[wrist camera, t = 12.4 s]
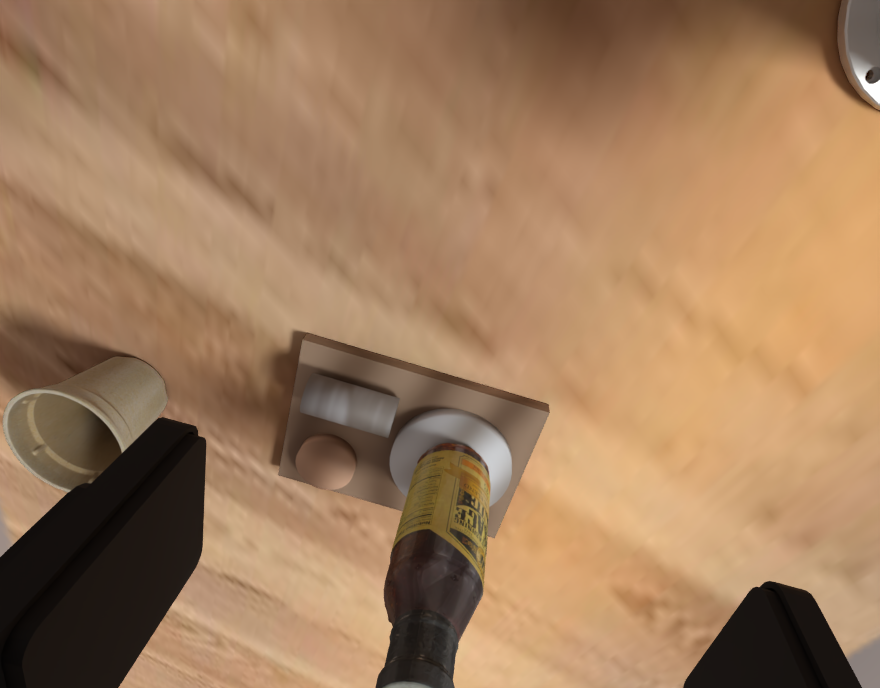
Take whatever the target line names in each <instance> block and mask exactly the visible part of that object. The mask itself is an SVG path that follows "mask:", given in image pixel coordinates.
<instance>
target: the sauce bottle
mask: <svg viewBox="0 0 880 688" xmlns="http://www.w3.org/2000/svg"><path fill="white" fill-rule="evenodd" d="M489 477H490V476H489V470H488V466H487V464H486V463H485V461H484V460H483V458H482V457H481V456H480V455H479V454H478V453H477V452H475V450H473V449H472V448H471V447H469V446H466V445H462V444H455V443H443V444H439V445H437V446H434V447H432V448H431V449H429V450H427V452H425V453H424V454H422V456H421V457H420V458H419V460H418V462H417V466H416V468H415V470H414V473H413V476H412V480H411V484H410V487H409V491H408V494H407V498H406V501H405V505H404V509H403V512H402V516H401V519H400V523H399V527H398V530H397V534H396V537H395V541H394V545H393V548H392V552H391V557H390V565H389V569H388V572H387V577H386V580H385V586H384V601H385V607H386V610H387V614H388V620H389V622H391V623H392V626H393V628H392V631H391V634H390V646H389V649H388V653H387V658H386V663H385V667H384V668H383V669H382V671H381V672H380V674H379V676H378V679H377V684H376V688H454V683H453V674H454V664H455V655H456V652H457V650H458V642H459V640H460V638H461V636H462V634H463V632H464V630H465V629H466V627H467V625H468V623H469V621H470V619H471V617H472V615H473V613H474V611H475V609H476V607H477V605H478V603H479V601H480V600H481V598H482V595H483V587H484V574H485V561H486V549H487V533H488V519H489V504H490V490H491V483H490V478H489Z"/></svg>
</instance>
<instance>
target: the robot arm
mask: <svg viewBox="0 0 880 688" xmlns="http://www.w3.org/2000/svg"><path fill="white" fill-rule="evenodd" d="M837 43H838V49H839V54H840V60H841V64H842V67H843V69H844V71H845V74H846V76H847V78H848V81H849V82H850V84H851V85H852V86H853V88H854V89H855V90H856V91H857V93H858V94H859V95H860V97H861V98H863V99H864V100H865V101H867V102H868V103H869V104H870V105H872V106H873V107H874V108H876V109H878V110H880V0H842V2H841V6H840V11H839V16H838V35H837ZM868 71H869V76H868V78H867V79H865V76H866V73H867V72H868ZM205 464H206V440H205V438H203V437H200V436H198V430H197V428H196V426H193V425H190V424H186V423H182V422H178V421H175V420H171V419H167V418H164V417H162V418H158V419H157V420H156V421H154V422H153V423H152V424H151V425H150V426H149V427H148V428H147V429H146V430H145V431H144V432H143V433H142V434H141V435H140V436H139V437H138V438H137V439H136V440H135V441H134V442H133V443H132V444H131V445H130V446H129V447H128V448H127V449H126V450H125V451H124V452H123V453H122V454H121V455H120V456H119V457H118V458H117V459H115V460H114V461H113V462H112V463H111V464H110V465H109V466H108V467H107V468H106V469H105V470H104V471H103V472H102V473H101V474H100V475H99V476H98V477H97V478H96V479H95V480H94V481H93V482H92V483H83V484H81V485H78V486H76V487H75V488H74V489H72V490H71V491H70V492H68V493H67V494H66V495H65V496H64V497H63V498H62V499H61V500H60V501H59V502H58V503H57V504H56V505H55V506H53V507H52V508H51V509H50V510H49V511H48V512H47V513H46V514H45V515H44V516H43V517H42V518H41V519H40V520H39V521H38V522H37V523H36V524H35V525H34V526H32V527H31V528H30V529H29V530H28V531H27V532H26V533H25V534H24V535H23V536H22V537H21V538H20V539H19V540H18V541H17V542H16V543H15V544H14V545H13V546H11V547H10V548H9V549H8V550H7V551H6V552H5V553H4V554H3V555H2V556H1V557H0V688H118V687H119V686H120V684H121V683H122V681H123V680H124V678H125V676H126V675H127V673H128V672H129V670H130V669H131V667H132V666H133V664H134V663H135V661H136V659H137V658H138V656H139V655H140V653H141V652H142V650H143V649H144V647H145V646H146V644H147V642H148V641H149V639H150V638H151V636H152V635H153V633H154V632H155V630H156V628H157V627H158V625H159V624H160V622H161V621H162V619H163V618H164V616H165V615H166V613H167V611H168V610H169V608H170V607H171V605H172V604H173V602H174V601H175V599H176V598H177V596H178V594H179V593H180V591H181V590H182V588H183V587H184V585H185V584H186V582H187V580H188V579H189V577H190V576H191V574H192V573H193V571H194V569H195V568H196V566H197V564H198V562H199V559H200V556H201V552H202V547H203V519H204V492H205ZM683 688H862V687H861V685H860V683H859V681H858V679H857V677H856V676H855V674H854V672H853V670H852V668H851V666H850V664H849V662H848V661H847V659H846V657H845V655H844V653H843V651H842V649H841V647H840V646H839V644H838V642H837V640H836V638H835V636H834V634H833V632H832V631H831V629H830V627H829V625H828V623H827V621H826V619H825V617H824V616H823V614H822V612H821V610H820V608H819V606H818V604H817V602H816V601H815V599H814V598H813V596H812V595H811V594H810V593H809V592H807V591H806V590H802V589H798V588H795V587H791V586H787V585H784V584H780V583H776V582H772V581H768V582H765V583H763V584H762V585H761V586H760V587H754V588H752V589H751V590H750V591H749V593H748V594H747V596H746V597H745V598H744V600H743V601H742V603H741V604H740V605H739V607H738V608H737V609H736V611H735V612H734V614H733V615H732V616H731V618H730V619H729V621H728V622H727V623H726V625H725V626H724V627H723V629H722V630H721V632H720V633H719V634H718V636H717V637H716V639H715V640H714V641H713V643H712V644H711V646H710V647H709V648H708V650H707V651H706V652H705V654H704V655H703V657H702V658H701V659H700V661H699V662H698V664H697V665H696V666H695V668H694V669H693V671H692V672H691V673H690V675H689V676H688V677H687V679H686V681H685V683H684V687H683Z"/></svg>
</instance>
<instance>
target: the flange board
mask: <svg viewBox="0 0 880 688" xmlns="http://www.w3.org/2000/svg"><path fill="white" fill-rule="evenodd" d="M549 413H550V412H549V405H548V404H545V403H542V402H538V401H535V400H532V399H528V398H525V397H521V396H518V395H515V394H511V393H508V392H505V391H501V390H498V389H494V388H491V387H488V386H484V385H481V384H478V383H474V382H471V381H467V380H464V379H461V378H457V377H454V376H451V375H447V374H444V373H440V372H437V371H434V370H430V369H427V368H424V367H420V366H417V365H413V364H410V363H407V362H403V361H400V360H397V359H393V358H390V357H386V356H383V355H380V354H376V353H373V352H370V351H366V350H363V349H359V348H356V347H353V346H349V345H346V344H343V343H339V342H336V341H332V340H329V339H326V338H322V337H319V336H316V335H312V334H309V333H307V334H306V336H305V337H304V338H303V340H302V345H301V351H300V356H299V362H298V367H297V373H296V378H295V384H294V390H293V395H292V401H291V406H290V412H289V417H288V423H287V429H286V434H285V440H284V445H283V451H282V457H281V462H280V468H279V473H278V475H279V476H283V477H286V478H290V479H293V480H297V481H300V482H303V483H307V484H310V485H312V486H314V487H317V488H320V489H324V490H331V491H334V492H338V493H341V494H345V495H348V496H352V497H355V498H358V499H362V500H365V501H369V502H372V503H376V504H379V505H382V506H386V507H389V508H393V509H396V510H400V511H403V509H404V505H405V501H406V498H407V494H408V491H409V487H410V484H411V480H412V476H413V473H414V470H415V468H416V466H417V462H418V460H419V458H420V457H421V456H422V454H424V453H425V452H427V450H429V449H431V448H432V447H434V446H437V445H439V444H443V443H455V444H462V445H466V446H469V447H471V448H472V449H473V450H475V452H477V453H478V454H479V455H480V456H481V457H482V458H483V460H484V461H485V463H486V464H487V466H488V470H489V476H490V477H489V478H490V483H491V490H490V504H489V519H488V533H487V536H489V537H492V538H495V536H496V534H497V531H498V529H499V527H500V525H501V522H502V520H503V518H504V516H505V513H506V511H507V509H508V506H509V504H510V502H511V500H512V497H513V495H514V493H515V490H516V488H517V486H518V484H519V481H520V479H521V477H522V474H523V472H524V470H525V468H526V465H527V463H528V461H529V459H530V456H531V454H532V452H533V449H534V447H535V445H536V443H537V440H538V438H539V436H540V433H541V431H542V429H543V427H544V424H545V422H546V420H547V418H548V415H549Z"/></svg>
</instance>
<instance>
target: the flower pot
mask: <svg viewBox="0 0 880 688" xmlns="http://www.w3.org/2000/svg"><path fill="white" fill-rule="evenodd" d="M167 401H168V397H167V394H166V390H165V383H164V381H163V379H162V378H161V376H160V375H159V374H158V372H157V371H156V370H155V369H153V368H152V367H151V366H150V365H148V364H147V363H145V362H143V361H141V360H139V359H137V358H130V357H119V356H116V357H112V358H110V359H108V360H106V361H104V362H102V363H100V364H98V365H96V366H94V367H92V368H90V369H88V370H86V371H84V372H82V373H80V374H77V375H75V376H73V377H71V378H69V379H67V380H65V381H63V382H61V383H58V384H56V385H49V386H45V387H43V388H34V389H30V390H27V391H24V392H22V393H20V394H18V395H17V396H15V397H14V398H13V399H11V401H10V402H9V403H8V405H7V407H6V409H5V411H4V415H3V430H4V434H5V437H6V440H7V443H8V445H9V446H10V448H11V450H12V452H13V453H14V455H15V456H16V458H17V459H18V460H19V461H20V463H21V464H22V465H24V467H25V468H27V470H28V471H29V472H31V473H32V474H33V475H35V476H36V477H37V478H39V479H41V480H42V481H44V482H45V483H47V484H49V485H51V486H53V487H55V488H57V489H60V490H63V491H65V492H70V491H71V490H72V489H74V488H75V487H76V486H78V485H81V484H83V483H92V482H93V481H94V480H95V479H96V478H97V477H98V476H99V475H100V474H101V473H102V472H103V471H104V470H105V469H106V468H107V467H108V466H109V465H110V464H111V463H112V462H113V461H114V460H115V459H117V458H118V457H119V456H120V455H121V454H122V453H123V452H124V451H125V450H126V449H127V448H128V447H129V446H130V445H131V444H132V443H133V442H134V441H135V440H136V439H137V438H138V437H139V436H140V435H141V434H142V433H143V432H144V431H145V430H146V429H147V428H148V427H149V426H150V425H151V424H152V423H153V422H154V421H155V420H156V419H157V418H158V416H159V415H160V414H161V413H162V411H163V410H164V409H165V407H166V404H167Z"/></svg>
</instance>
